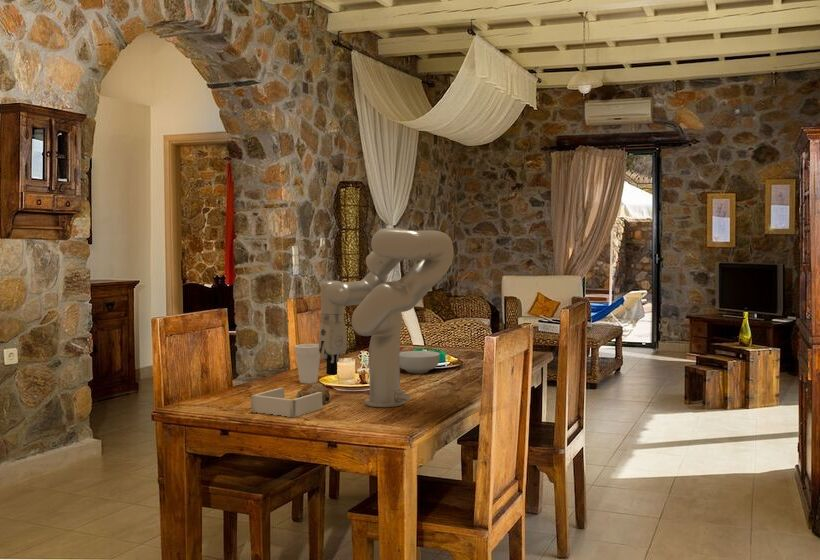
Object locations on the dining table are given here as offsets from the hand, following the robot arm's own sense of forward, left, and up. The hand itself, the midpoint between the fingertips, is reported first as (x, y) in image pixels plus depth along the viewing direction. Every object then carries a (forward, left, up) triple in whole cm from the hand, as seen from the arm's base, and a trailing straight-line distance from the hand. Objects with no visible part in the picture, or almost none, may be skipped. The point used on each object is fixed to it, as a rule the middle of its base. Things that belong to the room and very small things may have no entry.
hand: (331, 374), depth 273 cm
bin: (-1, +24, -7) cm, 25 cm away
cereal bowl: (-2, -52, -7) cm, 52 cm away
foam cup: (+22, -16, -7) cm, 28 cm away
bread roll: (-1, +11, -7) cm, 13 cm away
